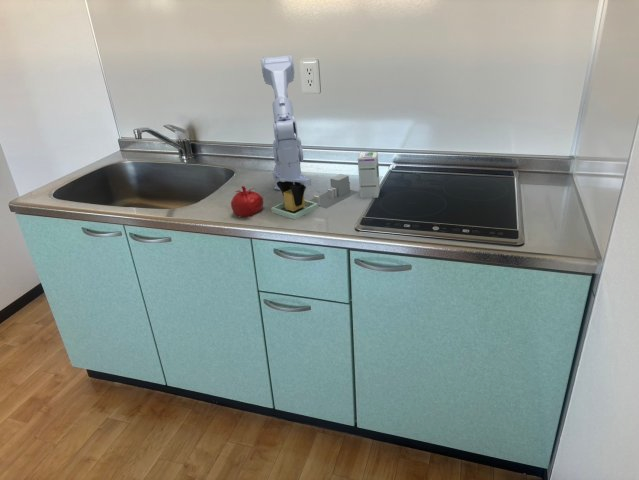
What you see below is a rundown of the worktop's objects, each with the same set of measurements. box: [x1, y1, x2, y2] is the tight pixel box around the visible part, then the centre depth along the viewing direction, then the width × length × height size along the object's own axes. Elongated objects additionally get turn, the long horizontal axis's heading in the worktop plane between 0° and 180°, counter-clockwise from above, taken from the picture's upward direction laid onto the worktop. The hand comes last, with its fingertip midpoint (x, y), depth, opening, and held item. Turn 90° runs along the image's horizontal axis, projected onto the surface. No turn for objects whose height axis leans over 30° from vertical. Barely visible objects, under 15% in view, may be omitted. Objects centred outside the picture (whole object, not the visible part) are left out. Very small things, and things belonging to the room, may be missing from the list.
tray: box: [271, 199, 319, 220], centre depth 151 cm, size 10×10×3 cm
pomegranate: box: [230, 185, 264, 218], centre depth 153 cm, size 10×10×9 cm
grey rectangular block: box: [329, 173, 351, 197], centre depth 159 cm, size 4×5×6 cm
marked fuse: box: [282, 189, 306, 212], centre depth 149 cm, size 4×5×6 cm
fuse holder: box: [309, 181, 359, 209], centre depth 157 cm, size 9×16×4 cm, turn 137°
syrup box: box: [357, 151, 381, 199], centre depth 154 cm, size 6×6×14 cm
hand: (294, 203), depth 150 cm, fingers closed on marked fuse, 3 cm apart
